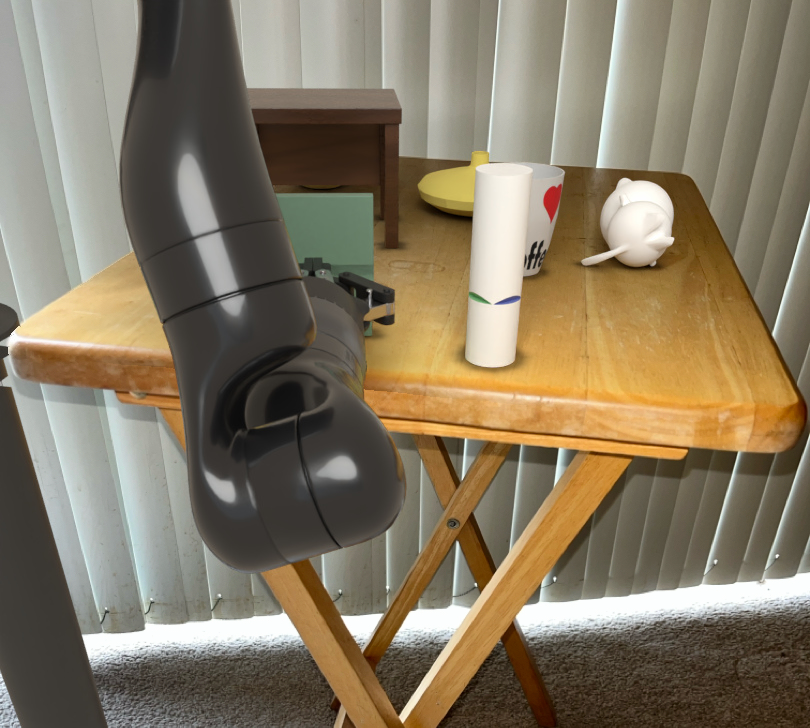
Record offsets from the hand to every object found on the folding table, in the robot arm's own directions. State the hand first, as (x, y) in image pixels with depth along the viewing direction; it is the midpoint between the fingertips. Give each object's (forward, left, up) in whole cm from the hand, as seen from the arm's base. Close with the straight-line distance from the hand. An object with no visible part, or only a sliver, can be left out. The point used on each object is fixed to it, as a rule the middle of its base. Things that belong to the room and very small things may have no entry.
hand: (313, 269), depth 69 cm
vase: (+4, +49, -7) cm, 49 cm away
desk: (-12, +33, -7) cm, 36 cm away
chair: (-2, +7, -7) cm, 10 cm away
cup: (+13, +27, -7) cm, 30 cm away
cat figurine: (+24, +34, -7) cm, 42 cm away
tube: (+15, +3, -7) cm, 16 cm away
